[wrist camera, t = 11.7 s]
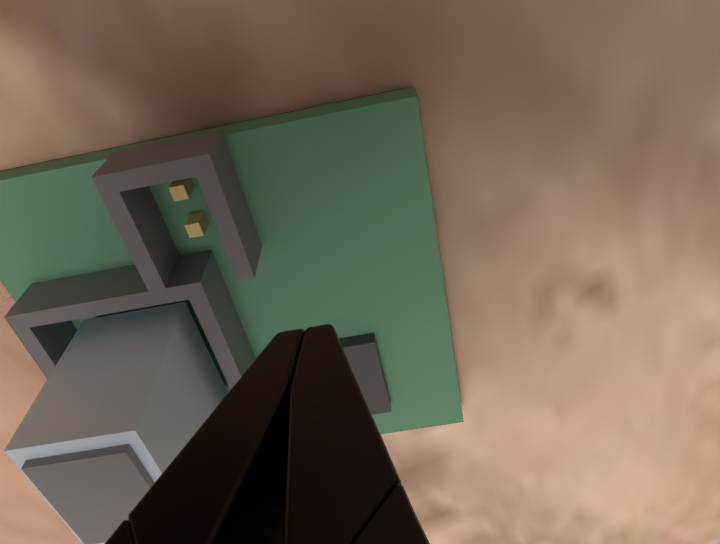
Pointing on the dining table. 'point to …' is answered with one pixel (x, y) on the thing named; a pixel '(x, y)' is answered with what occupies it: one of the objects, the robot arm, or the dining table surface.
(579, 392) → the dining table surface
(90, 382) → the plug
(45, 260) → the board
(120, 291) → the grey square frame
